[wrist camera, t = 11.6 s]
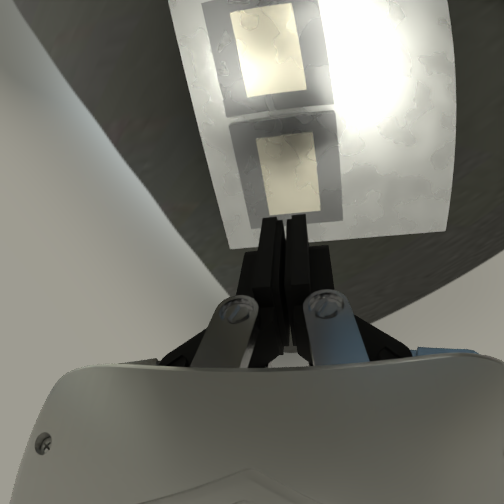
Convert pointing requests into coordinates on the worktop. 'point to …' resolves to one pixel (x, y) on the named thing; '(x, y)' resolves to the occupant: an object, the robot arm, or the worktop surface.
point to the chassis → (323, 112)
